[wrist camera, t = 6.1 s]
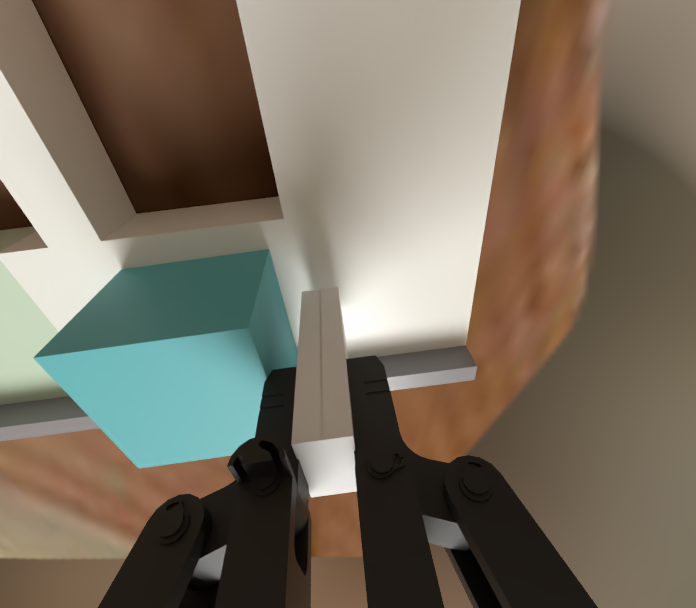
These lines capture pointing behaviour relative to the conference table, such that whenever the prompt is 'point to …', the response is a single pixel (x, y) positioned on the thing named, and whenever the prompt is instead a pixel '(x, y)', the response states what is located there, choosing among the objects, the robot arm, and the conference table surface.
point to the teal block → (176, 355)
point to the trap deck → (291, 179)
